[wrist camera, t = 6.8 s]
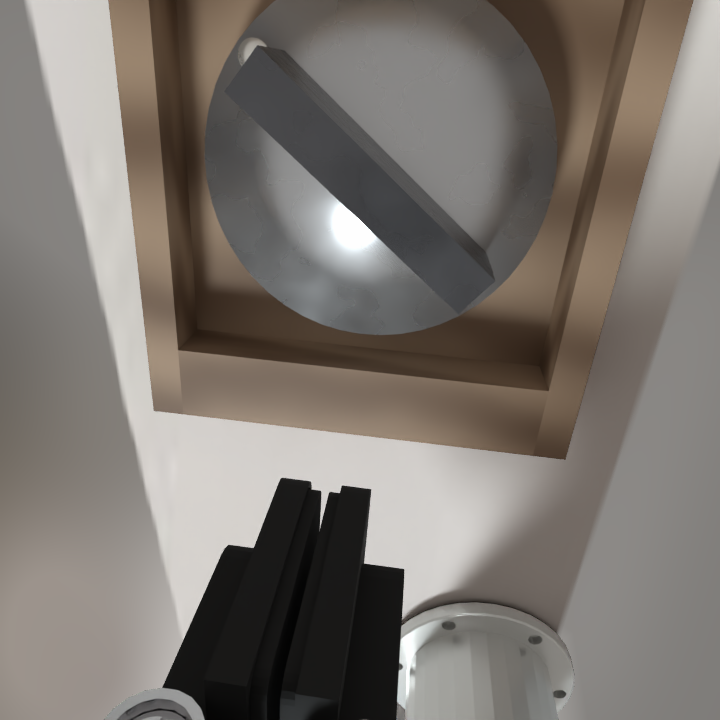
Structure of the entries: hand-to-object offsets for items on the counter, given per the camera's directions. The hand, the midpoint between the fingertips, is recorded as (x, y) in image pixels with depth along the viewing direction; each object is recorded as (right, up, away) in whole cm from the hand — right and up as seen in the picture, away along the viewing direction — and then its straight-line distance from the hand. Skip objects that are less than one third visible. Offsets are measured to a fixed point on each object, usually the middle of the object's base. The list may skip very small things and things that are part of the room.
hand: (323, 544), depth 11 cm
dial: (+1, +12, +13) cm, 18 cm away
